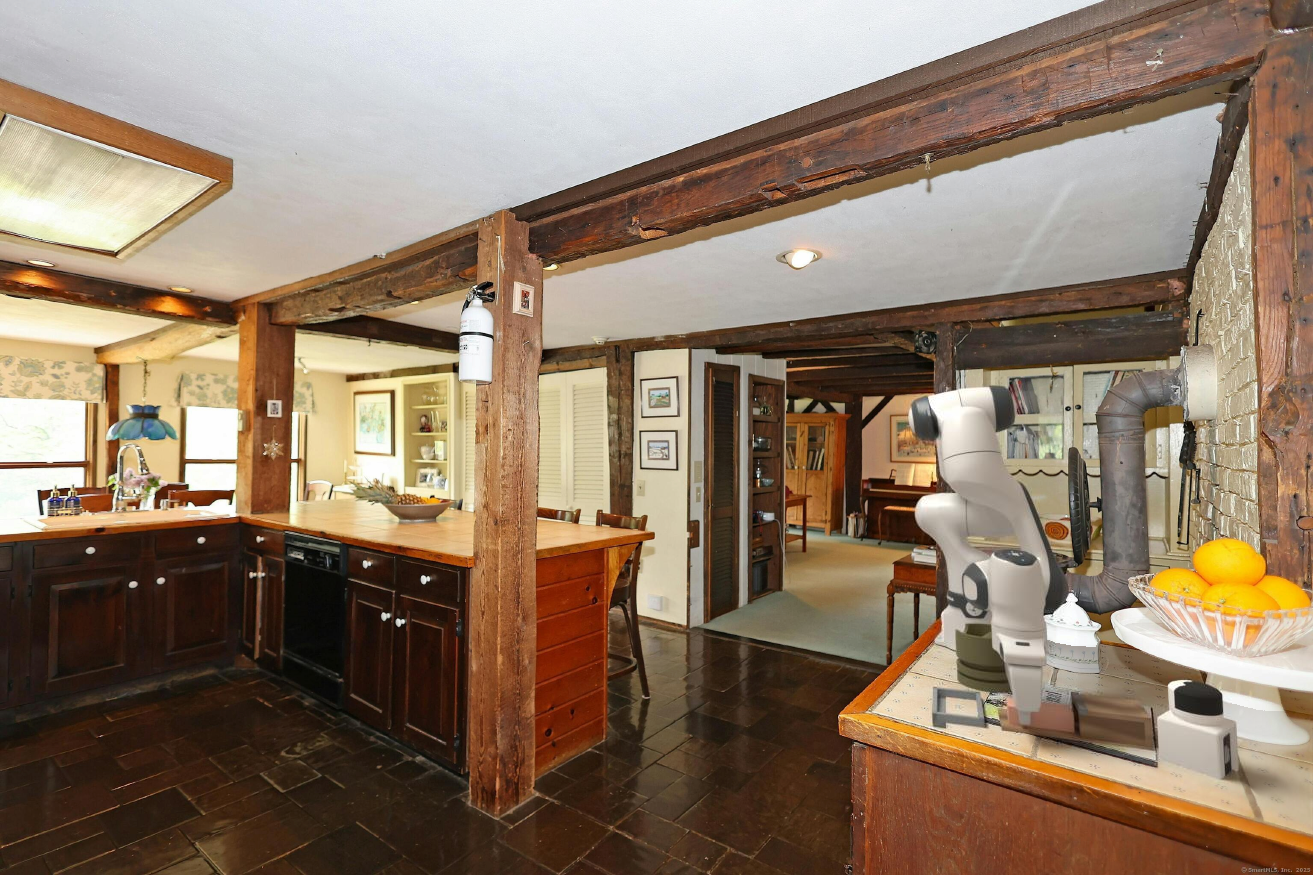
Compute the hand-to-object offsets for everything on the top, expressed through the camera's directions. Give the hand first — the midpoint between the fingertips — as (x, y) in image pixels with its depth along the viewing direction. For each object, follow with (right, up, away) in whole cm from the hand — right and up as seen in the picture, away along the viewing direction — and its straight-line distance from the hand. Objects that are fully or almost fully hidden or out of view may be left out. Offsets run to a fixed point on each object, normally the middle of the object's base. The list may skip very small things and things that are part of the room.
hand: (1022, 716), depth 115 cm
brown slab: (+7, -2, -3) cm, 7 cm away
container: (+18, -1, -16) cm, 24 cm away
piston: (+4, -2, +19) cm, 20 cm away
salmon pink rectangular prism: (+2, -1, -1) cm, 3 cm away
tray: (-9, -2, +6) cm, 11 cm away
